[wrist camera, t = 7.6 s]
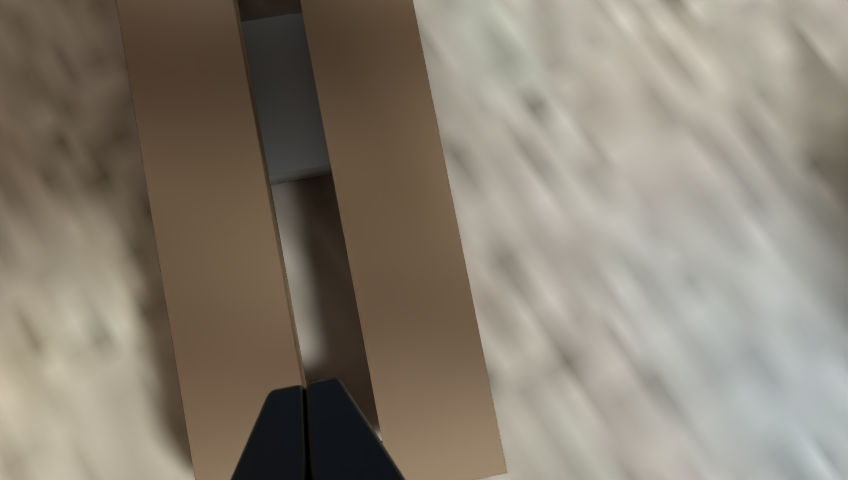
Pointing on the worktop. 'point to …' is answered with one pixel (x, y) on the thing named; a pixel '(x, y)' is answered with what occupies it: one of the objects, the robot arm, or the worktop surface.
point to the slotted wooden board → (258, 230)
